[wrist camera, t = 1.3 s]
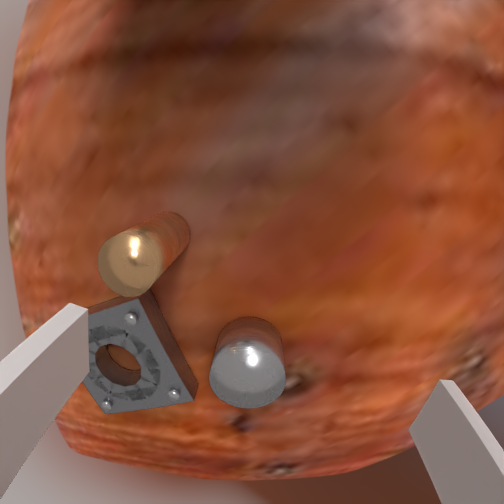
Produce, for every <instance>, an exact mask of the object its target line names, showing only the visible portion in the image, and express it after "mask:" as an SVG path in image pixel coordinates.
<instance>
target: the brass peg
mask: <svg viewBox="0 0 504 504" xmlns="http://www.w3.org/2000/svg"><path fill="white" fill-rule="evenodd" d="M189 240H190V229H189V226H188V224H187V222H186V221H185V220H184V219H183V218H182V217H181V216H180V215H178V214H176V213H173V212H163V213H160V214H158V215H156V216H154V217H152V218H150V219H148V220H146V221H143V222H141V223H139V224H137V225H135V226H133V227H131V228H129V229H127V230H125V231H123V232H121V233H119V234H117V235H115V236H113V237H111V238H109V239H108V240H107V241H106V242H105V243H104V244H103V245H102V247H101V249H100V251H99V254H98V269H99V273H100V275H101V278H102V279H103V281H104V283H105V284H106V285H107V286H108V287H109V288H110V289H111V290H112V291H113V292H115V293H117V294H119V295H122V296H125V297H136V296H139V295H142V294H143V293H145V292H146V291H147V290H148V289H149V288H150V287H151V286H152V285H153V283H154V282H155V281H156V280H157V279H158V278H159V277H160V276H161V275H162V273H163V272H164V271H165V270H166V269H167V268H168V267H169V266H170V265H171V263H172V262H173V261H174V260H175V259H176V258H177V257H178V256H179V255H180V254H181V252H182V251H183V250H184V249H185V248H186V247H187V245H188V243H189Z"/></svg>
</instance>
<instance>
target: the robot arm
mask: <svg viewBox="0 0 504 504" xmlns="http://www.w3.org/2000/svg"><path fill="white" fill-rule="evenodd" d="M89 371H90V370H89V346H88V309H86V308H84V307H81V306H78V305H75V304H72V303H69V304H68V305H67V306H65V307H64V308H63V309H62V310H60V311H59V312H58V313H57V314H55V315H54V316H53V317H52V318H51V319H49V320H48V321H47V322H46V323H45V324H43V325H42V326H41V327H40V328H39V329H37V330H36V331H35V332H34V333H33V334H31V335H30V336H29V337H28V338H27V339H26V340H25V341H23V342H22V343H21V344H20V345H19V346H18V347H16V348H15V349H14V350H13V351H12V352H11V353H9V354H8V355H7V356H6V357H5V358H4V359H3V360H2V361H1V362H0V499H1V498H2V496H3V495H4V493H5V492H6V490H7V489H8V487H9V485H10V484H11V482H12V481H13V479H14V478H15V476H16V475H17V473H18V471H19V470H20V468H21V467H22V465H23V464H24V462H25V461H26V459H27V457H28V456H29V455H30V453H31V452H32V451H33V449H34V447H35V446H36V444H37V443H38V442H39V440H40V439H41V437H42V436H43V434H44V433H45V432H46V430H47V429H48V427H49V426H50V424H51V423H52V422H53V420H54V419H55V418H56V416H57V415H58V413H59V412H60V411H61V409H62V408H63V406H64V405H65V404H66V402H67V401H68V400H69V398H70V397H71V395H72V394H73V393H74V391H75V390H76V389H77V387H78V386H79V385H80V383H81V382H82V381H83V379H84V378H85V377H86V375H87V374H88V373H89ZM408 430H409V432H410V434H411V436H412V438H413V441H414V443H415V445H416V447H417V449H418V451H419V453H420V456H421V458H422V460H423V462H424V464H425V466H426V469H427V471H428V473H429V475H430V478H431V480H432V482H433V484H434V487H435V489H436V491H437V493H438V496H439V498H440V500H441V503H442V504H504V450H503V449H502V448H501V446H500V445H499V443H498V442H497V440H496V439H495V438H494V436H493V435H492V434H491V432H490V430H489V429H488V427H487V426H486V425H485V423H484V422H483V420H482V419H481V418H480V416H479V415H478V413H477V412H476V411H475V409H474V408H473V407H472V405H471V404H470V403H469V401H468V400H467V399H466V397H465V396H464V394H463V393H462V392H461V391H460V389H459V388H458V387H457V385H456V384H455V383H454V381H453V380H439V382H438V383H437V385H436V387H435V388H434V390H433V392H432V394H431V395H430V397H429V398H428V400H427V402H426V403H425V405H424V406H423V408H422V410H421V411H420V413H419V414H418V416H417V417H416V419H415V420H414V422H413V423H412V425H411V426H410V428H409V429H408Z"/></svg>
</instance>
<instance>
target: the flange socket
mask: <svg viewBox="0 0 504 504" xmlns="http://www.w3.org/2000/svg"><path fill="white" fill-rule="evenodd" d="M86 309H88V346H89V370H90V371H89V373H88V374H87V375H86V377H85V378H84V379H83V381H82V382H83V383H84V385H85V386H86V388H87V389H88V391H89V392H90V394H91V395H92V397H93V398H94V399H95V401H96V402H97V404H98V405H99V406H100V408H101V409H102V411H103V412H104V413H105V414H111V413H120V412H128V411H136V410H143V409H150V408H156V407H163V406H169V405H175V404H180V403H186V402H191V401H194V399H195V395H196V391H197V388H198V384H199V383H198V382H197V380H196V378H195V376H194V374H193V373H192V371H191V369H190V367H189V365H188V364H187V362H186V360H185V358H184V356H183V354H182V352H181V350H180V349H179V347H178V345H177V343H176V341H175V339H174V337H173V335H172V333H171V331H170V329H169V327H168V325H167V323H166V321H165V319H164V317H163V315H162V313H161V311H160V309H159V307H158V305H157V303H156V301H155V299H154V296H153V294H152V292H151V290H150V288H149V289H148V290H147V291H146V292H145V293H143V294H142V295H139V296H136V297H125V296H120V297H118V298H115V299H112V300H109V301H106V302H103V303H100V304H97V305H94V306H92V307H89V308H86ZM107 344H114V345H118V346H121V347H124V348H125V349H126V350H128V351H129V352H130V353H131V354H133V355H134V356H135V358H136V359H137V361H138V363H139V365H140V366H141V370H137V371H131V370H128V369H124V368H122V367H121V366H119V365H118V364H117V363H115V362H114V361H113V360H112V358H111V357H110V355H109V353H108V352H107Z"/></svg>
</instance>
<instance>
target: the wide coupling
mask: <svg viewBox="0 0 504 504" xmlns="http://www.w3.org/2000/svg"><path fill="white" fill-rule="evenodd" d="M209 382H210V386H211V388H212V390H213V392H214V393H215V394H216V395H217V397H219V398H220V399H221V400H222V401H224V402H226V403H227V404H230V405H232V406H235V407H239V408H258V407H262V406H265V405H268V404H270V403H271V402H273V401H274V400H276V399H277V398H278V397H279V396H280V395H281V393H282V392H283V390H284V387H285V384H286V376H285V366H284V357H283V348H282V339H281V336H280V334H279V332H278V330H277V329H276V328H275V327H274V326H273V325H272V324H271V323H269V322H268V321H266V320H264V319H261V318H257V317H241V318H238V319H235V320H233V321H231V322H229V323H228V324H227V325H226V326H224V328H223V329H222V330H221V332H220V334H219V337H218V341H217V345H216V349H215V353H214V357H213V362H212V366H211V370H210V374H209Z"/></svg>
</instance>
